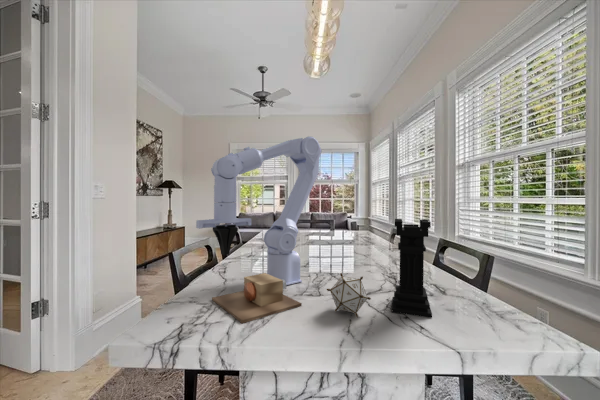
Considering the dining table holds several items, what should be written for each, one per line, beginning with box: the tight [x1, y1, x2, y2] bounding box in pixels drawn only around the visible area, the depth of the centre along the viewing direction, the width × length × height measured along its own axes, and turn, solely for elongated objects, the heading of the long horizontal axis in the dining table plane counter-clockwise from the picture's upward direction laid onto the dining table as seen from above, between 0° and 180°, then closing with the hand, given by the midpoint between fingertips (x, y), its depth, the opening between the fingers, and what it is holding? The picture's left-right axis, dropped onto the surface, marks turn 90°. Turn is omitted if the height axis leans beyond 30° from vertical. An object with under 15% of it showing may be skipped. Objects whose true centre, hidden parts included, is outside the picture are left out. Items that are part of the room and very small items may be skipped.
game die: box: [326, 272, 372, 318], centre depth 62 cm, size 9×8×10 cm
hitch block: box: [211, 272, 303, 324], centre depth 67 cm, size 15×16×5 cm
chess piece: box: [391, 218, 433, 319], centre depth 64 cm, size 8×8×20 cm
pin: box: [243, 279, 287, 301], centre depth 68 cm, size 10×4×4 cm, turn 128°
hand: (225, 254), depth 74 cm, fingers closed
